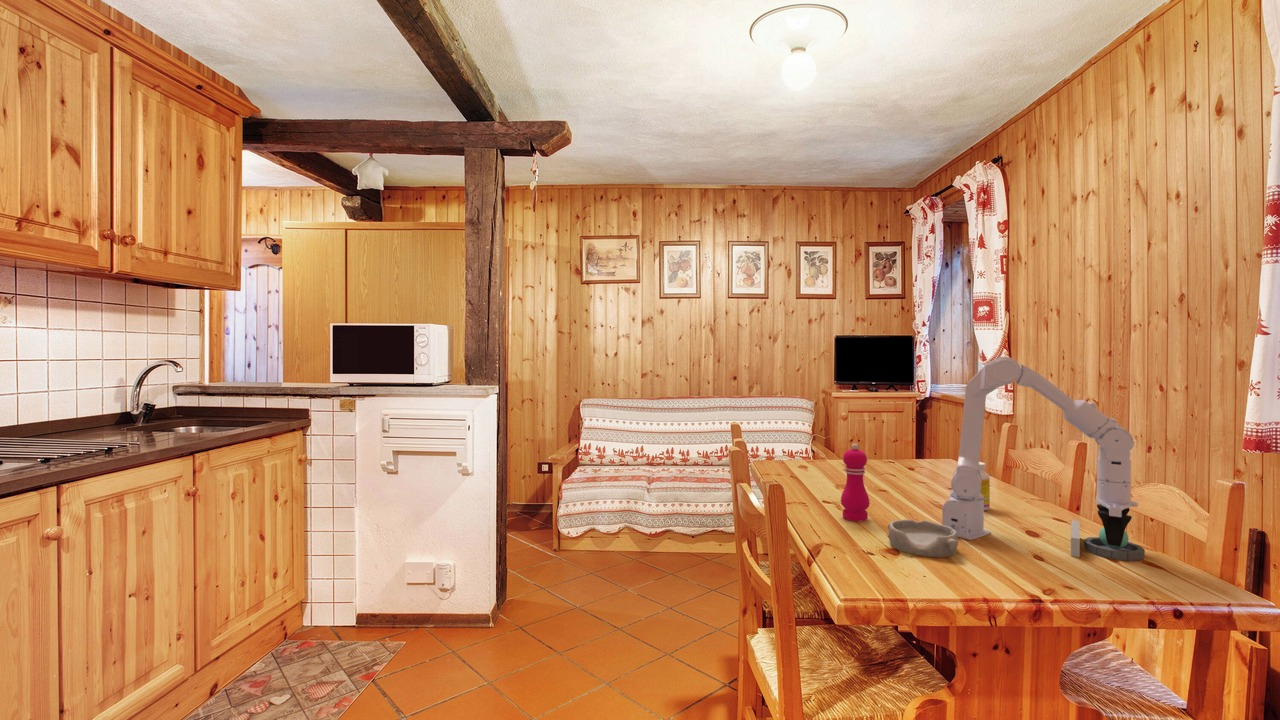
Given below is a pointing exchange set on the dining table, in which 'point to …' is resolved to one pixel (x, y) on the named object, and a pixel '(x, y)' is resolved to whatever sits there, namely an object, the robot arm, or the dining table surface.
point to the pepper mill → (855, 486)
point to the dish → (923, 538)
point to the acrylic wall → (1075, 538)
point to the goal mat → (1114, 550)
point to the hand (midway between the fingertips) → (1113, 541)
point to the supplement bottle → (985, 485)
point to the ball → (1104, 541)
